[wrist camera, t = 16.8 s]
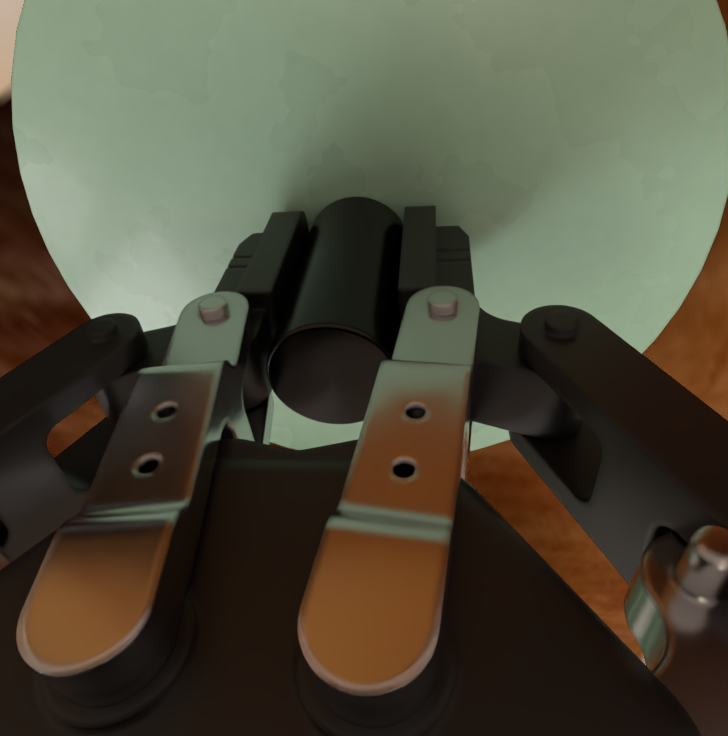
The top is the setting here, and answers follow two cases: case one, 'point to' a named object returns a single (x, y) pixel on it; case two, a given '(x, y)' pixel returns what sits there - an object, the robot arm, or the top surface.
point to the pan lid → (374, 162)
